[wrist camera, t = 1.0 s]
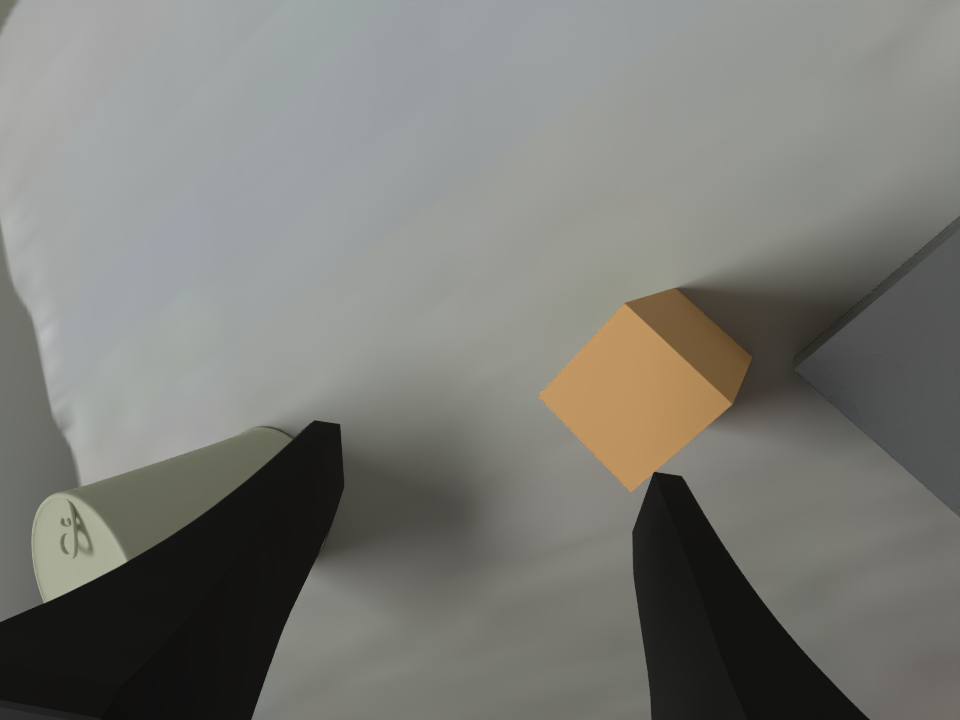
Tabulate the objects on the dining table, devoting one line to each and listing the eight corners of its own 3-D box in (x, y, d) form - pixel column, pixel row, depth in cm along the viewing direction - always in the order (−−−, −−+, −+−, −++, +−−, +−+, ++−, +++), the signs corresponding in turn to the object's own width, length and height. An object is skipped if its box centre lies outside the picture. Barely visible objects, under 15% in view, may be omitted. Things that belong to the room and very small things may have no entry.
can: (318, 427, 34) (110, 504, 24) (340, 574, 35) (151, 709, 25) (215, 425, 39) (2, 489, 28) (238, 556, 40) (41, 663, 30)
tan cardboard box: (752, 357, 23) (732, 404, 16) (678, 423, 24) (630, 492, 17) (675, 287, 24) (624, 303, 17) (609, 356, 25) (538, 396, 18)
